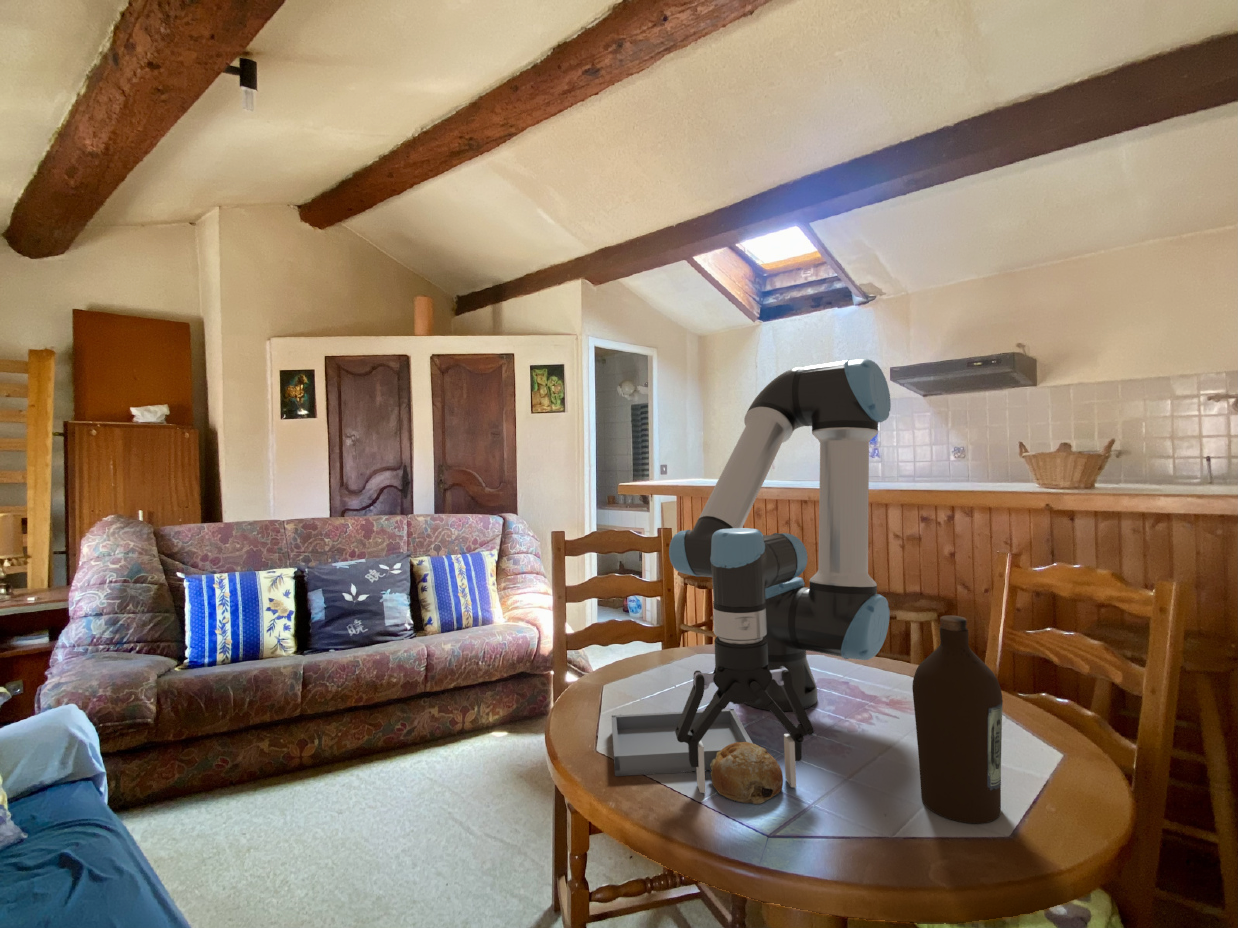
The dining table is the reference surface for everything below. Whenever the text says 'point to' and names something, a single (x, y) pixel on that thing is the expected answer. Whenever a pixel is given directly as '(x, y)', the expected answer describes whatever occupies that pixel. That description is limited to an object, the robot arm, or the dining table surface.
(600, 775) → the dining table surface
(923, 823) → the dining table surface
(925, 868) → the dining table surface
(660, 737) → the tray
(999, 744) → the olive oil
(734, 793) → the bread roll
